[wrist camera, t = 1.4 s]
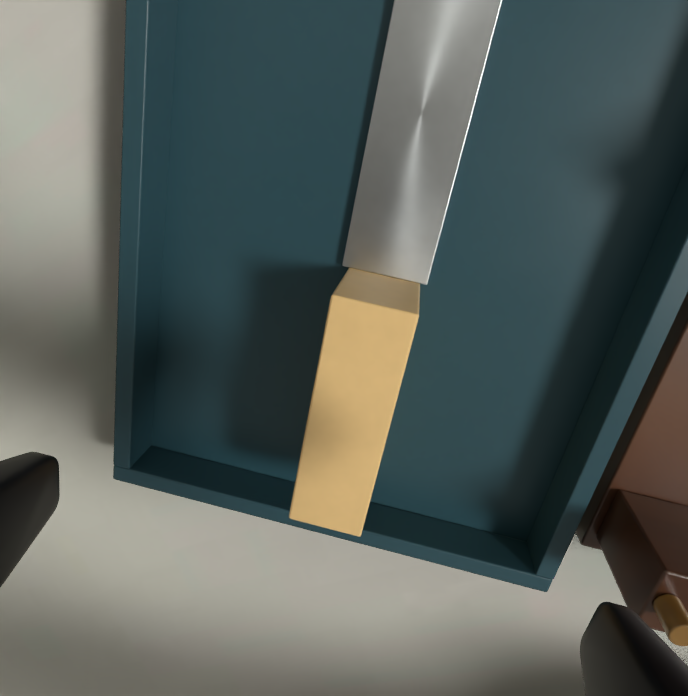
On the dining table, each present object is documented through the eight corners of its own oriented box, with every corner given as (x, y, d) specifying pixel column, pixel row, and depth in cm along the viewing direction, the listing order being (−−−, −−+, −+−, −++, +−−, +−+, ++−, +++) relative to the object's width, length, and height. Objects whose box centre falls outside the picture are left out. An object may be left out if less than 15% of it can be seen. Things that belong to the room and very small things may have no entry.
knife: (377, 472, 18) (367, 540, 15) (306, 454, 18) (281, 517, 15) (523, -83, 12) (558, -164, 9) (415, -102, 12) (412, -189, 9)
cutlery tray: (534, 547, 19) (547, 593, 17) (142, 447, 20) (112, 479, 18) (827, -125, 11) (908, -180, 10) (178, -233, 12) (133, -304, 10)
